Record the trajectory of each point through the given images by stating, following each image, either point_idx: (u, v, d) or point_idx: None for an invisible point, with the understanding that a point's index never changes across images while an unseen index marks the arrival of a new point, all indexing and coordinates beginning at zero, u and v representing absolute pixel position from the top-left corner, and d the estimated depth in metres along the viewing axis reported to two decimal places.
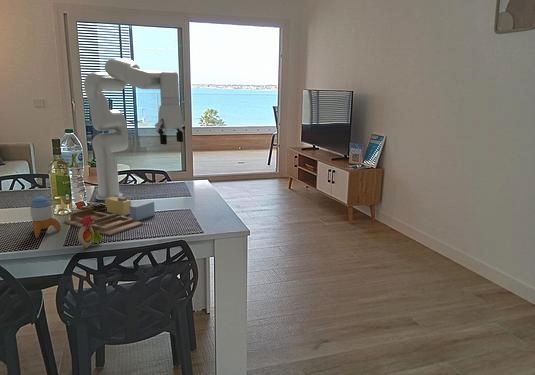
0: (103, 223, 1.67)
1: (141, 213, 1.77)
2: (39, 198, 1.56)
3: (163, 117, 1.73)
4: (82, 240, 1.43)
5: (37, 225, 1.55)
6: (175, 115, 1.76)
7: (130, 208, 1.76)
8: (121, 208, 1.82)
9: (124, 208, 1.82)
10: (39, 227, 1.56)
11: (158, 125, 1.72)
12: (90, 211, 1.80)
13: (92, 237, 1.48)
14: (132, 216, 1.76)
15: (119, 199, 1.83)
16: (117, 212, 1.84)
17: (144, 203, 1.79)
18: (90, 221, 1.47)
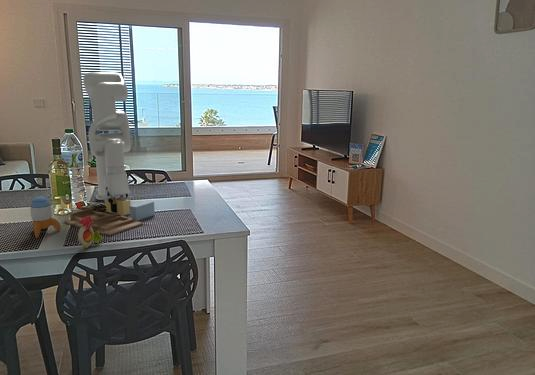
0: (103, 223, 1.67)
1: (141, 213, 1.77)
2: (39, 198, 1.56)
3: (108, 186, 1.79)
4: (82, 240, 1.43)
5: (37, 225, 1.55)
6: (120, 182, 1.82)
7: (130, 208, 1.76)
8: (120, 208, 1.82)
9: (124, 208, 1.82)
10: (39, 227, 1.56)
11: (106, 197, 1.79)
12: (90, 211, 1.80)
13: (92, 237, 1.48)
14: (132, 216, 1.76)
15: (119, 199, 1.83)
16: (117, 212, 1.84)
17: (144, 203, 1.79)
18: (90, 221, 1.47)
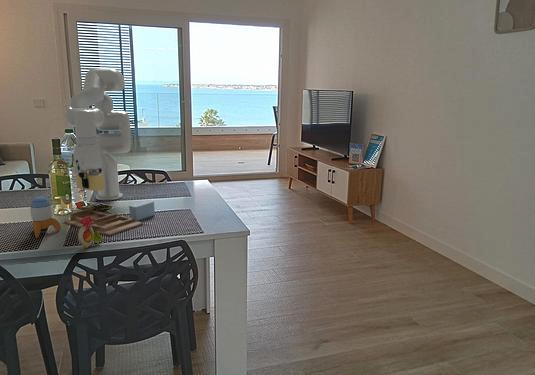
0: (103, 223, 1.67)
1: (141, 213, 1.77)
2: (39, 198, 1.56)
3: (78, 158, 1.63)
4: (82, 240, 1.43)
5: (37, 225, 1.55)
6: (92, 155, 1.67)
7: (130, 208, 1.76)
8: (92, 183, 1.66)
9: (96, 183, 1.66)
10: (39, 227, 1.56)
11: (76, 171, 1.64)
12: (90, 211, 1.80)
13: (92, 237, 1.48)
14: (132, 216, 1.76)
15: (91, 173, 1.67)
16: (89, 188, 1.68)
17: (144, 203, 1.79)
18: (90, 221, 1.47)
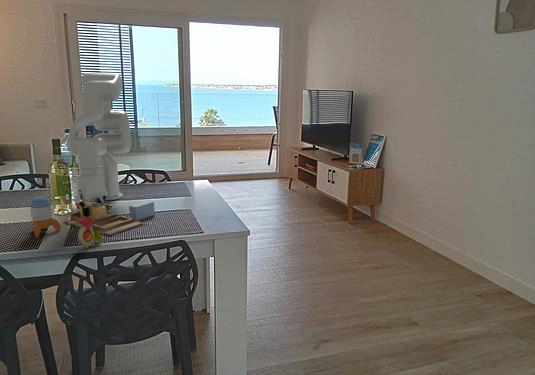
0: (103, 223, 1.67)
1: (141, 213, 1.77)
2: (39, 198, 1.56)
3: (81, 188, 1.66)
4: (82, 240, 1.43)
5: (37, 225, 1.55)
6: (95, 185, 1.69)
7: (130, 208, 1.76)
8: (95, 215, 1.70)
9: (99, 215, 1.69)
10: (39, 227, 1.56)
11: (77, 200, 1.66)
12: None
13: (92, 237, 1.48)
14: (132, 216, 1.76)
15: (93, 205, 1.70)
16: None
17: (144, 203, 1.79)
18: (90, 221, 1.47)
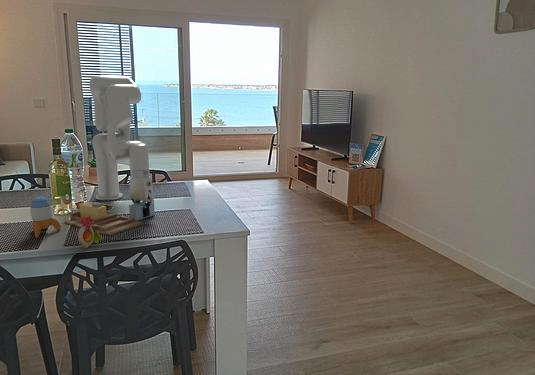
0: (103, 223, 1.67)
1: (141, 213, 1.77)
2: (39, 198, 1.56)
3: None
4: (82, 240, 1.43)
5: (37, 225, 1.55)
6: (136, 187, 1.75)
7: (130, 208, 1.76)
8: (95, 215, 1.70)
9: (99, 215, 1.69)
10: (39, 227, 1.56)
11: (130, 196, 1.81)
12: None
13: (92, 237, 1.48)
14: (132, 216, 1.76)
15: (93, 205, 1.70)
16: None
17: None
18: (90, 221, 1.47)
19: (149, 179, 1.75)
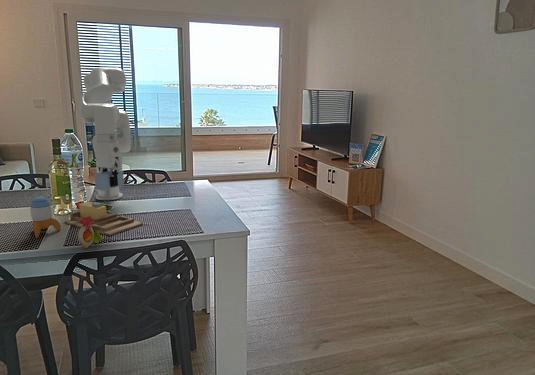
0: (103, 223, 1.67)
1: (108, 182, 1.61)
2: (39, 198, 1.56)
3: None
4: (82, 240, 1.43)
5: (37, 225, 1.55)
6: (102, 153, 1.59)
7: (95, 176, 1.59)
8: (95, 215, 1.70)
9: (99, 215, 1.69)
10: (39, 227, 1.56)
11: (97, 165, 1.65)
12: None
13: (92, 237, 1.48)
14: (98, 185, 1.60)
15: (93, 205, 1.70)
16: None
17: None
18: (90, 221, 1.47)
19: (116, 144, 1.58)
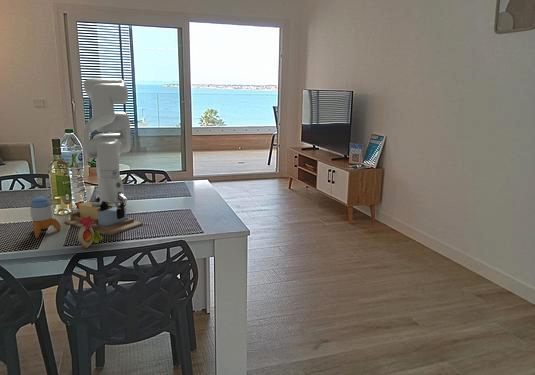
0: None
1: (111, 220, 1.64)
2: (39, 198, 1.56)
3: None
4: (82, 240, 1.43)
5: (37, 225, 1.55)
6: (105, 188, 1.62)
7: (98, 215, 1.63)
8: (95, 215, 1.70)
9: None
10: (39, 227, 1.56)
11: (96, 193, 1.69)
12: None
13: (92, 237, 1.48)
14: (101, 223, 1.64)
15: (93, 205, 1.70)
16: None
17: (114, 209, 1.67)
18: (90, 221, 1.47)
19: (119, 180, 1.62)
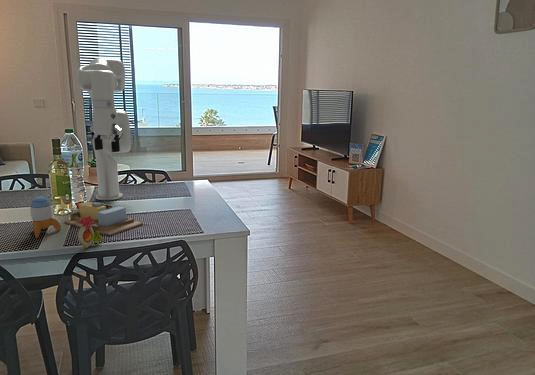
0: None
1: (111, 220, 1.64)
2: (39, 198, 1.56)
3: None
4: (82, 240, 1.43)
5: (37, 225, 1.55)
6: (99, 120, 1.56)
7: (98, 215, 1.63)
8: (95, 215, 1.70)
9: None
10: (39, 227, 1.56)
11: (91, 128, 1.62)
12: None
13: (92, 237, 1.48)
14: (101, 223, 1.64)
15: (93, 205, 1.70)
16: None
17: (114, 209, 1.67)
18: (90, 221, 1.47)
19: (114, 111, 1.56)
